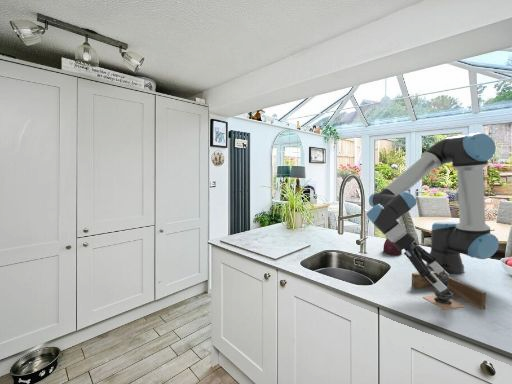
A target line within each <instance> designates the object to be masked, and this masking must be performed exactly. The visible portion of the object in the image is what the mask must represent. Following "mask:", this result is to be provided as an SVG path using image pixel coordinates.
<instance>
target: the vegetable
mask: <svg viewBox="0 0 512 384" xmlns="http://www.w3.org/2000/svg"><path fill="white" fill-rule="evenodd" d="M393 243H394V242H391V241H390V240H389V239H386V238H385V241H384V243H383V250H382V251H383V253H384V254H385V255H391V256H401V255H403V251H402V250H398V249H397V248H396V247H395V245H394V244H393Z"/></svg>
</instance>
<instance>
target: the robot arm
mask: <svg viewBox="0 0 512 384" xmlns="http://www.w3.org/2000/svg"><path fill="white" fill-rule="evenodd" d="M495 153H496V143H495V141H494V139H493V138H492V136H489V135H488V134H486V133H483V132H476V133H475V132H473V133H467V134H460V135H455V136H448V137H445V138H442V139H441V140H439V141H438V142H436V143H434V144H433V145H431V146H430V147H429V148H428V149H426V150H425V151H424V152H422V154H421V155H420V158H418V160H417V161H415V162H414V163H413V164H411V166H409V167H408V168H407V169H406V170H405V171H403V172H402V173H401V174H400V175H399V176H397V177H396V178H395V179H394V180H393V181H392V182H391V183H389V184H388V185H387V186H386V187H385V188H383V189H382V190H381V191H379V192H374V193H372V194H370V196H369V197H368V204H369V206H370V207H371V208H370V209H369V210H368V211H367V212H366V217H367V218H368V219H369V221H370V222H371V223H372V224H373V225H374V226H375V227H376V228H377V229H378V230H379V231H380V232H381V233H382V234H383V235H384V236H385V240H386V239H389V240H390V241H391V242H394V243H393V244H394V245H395V247H396V248H397V249H398V250H405V252H404V253H403V254H404V255H405V256H406V258H407V259H408V260H409V261H410V262H411V264H412V265H413V267H414V268H415V269H416V271H417V273H419V274H420V275H421V277H422V278H423V277H426V278H427V279H428V280H429V281H430V282H431V283H432V284H433V285H434V286H433V287H434V289H437V290H438V291H439V292H441V291H443V290H445V289H447V287H446V286H445V285H444V284H443V283H442V282H441V281H440V280H439V279H438V278H437V277H436V276H435V275H434V274H433V273H432V272H431V273H430V271H431V270H429V268H430V269H432V271H435V272H436V273H437V274H438V275H439V273H440V272H443V270H444V271H445V273H447V274H448V275H449V276H450V274H462V273H463V272H464V270H465V266H464V264H463V259H462V257H461V254H462V255H464V256H465V255H466V256H469V257H470V258H472V259H473V258H475V259H477V260H486V259H490V258H491V257H492V256H494V254H496V253H497V251H498V249H499V244H500V242H499V239H498V237H497V236H496V235H494V234H492V233H491V226H489V225H488V224H486V212H485V211H486V208H485V185H484V169H485V168H486V166H488V164H489V162H488V161H489V160H491V159H492V158H494V155H495ZM448 163H452V164H451V165H452V168H453V169H455V170H456V175H457V191H458V192H457V195H458V213H459V215H458V216H459V217H458V218H459V222H456V221H455V222H453V221H452V222H451V221H447V222H446V221H441V222H434V223H432V226H431V235H430V237H431V239H430V241H431V243H430V246H431V248H430V252H428V251H427V250H425V249H424V248H423V247H421V245H419V244H418V243H417V242H416V238H415V237H414V236H413V235H412V234H411V233H410V232H408V231H407V229H406V228H405V227H404V225H402V224H401V223H400V222H399V221H398V219H400V218H401V217H403V215H405V214H406V213H408V212H409V211H411V210H412V209H413V208H414V207H415V206H416V205H417V200H416V199H417V198H415V196H414V195H413V194H412V193H411V192H409V190H410V189H411V188H413V187H414V186H415V185H416V184H417V183H419V182H420V181H421V180H422V179H423V178H424V177H426V176H427V175H428V174H430V173H431V172H433V170H435V169H439V168H441V166H442V165H444V164H448ZM425 262H426V263H425Z"/></svg>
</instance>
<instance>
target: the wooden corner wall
mask: <svg viewBox="0 0 512 384" xmlns="http://www.w3.org/2000/svg"><path fill="white" fill-rule="evenodd" d="M429 271H430V273H431V272H432V273H433V274H434V275H435V276H436V277H437V278H438V279H439V275H438V274H437V273H436V272H435V271H434V270H432V271H431V270H429ZM448 282H449V283H450V284H449V286H448V289H449V291H451V292H452V293H453V295H452V296H454V297H457V298H458V299H460V300H462V301H464V302H466V303H468V304H470V305H472V306H474V307H476V308H478V309H479V310H486V301H487V300H486V298H487V292H485V291H483V290H480V289H478V288H476V287H473V286H471V285H469V284H467V283H465V282H462V281H461V280H458V279H455V278H453V277H451V276H449V279H448ZM431 287H432V288H433V287H434V285H433V284H432V283H431V282H430V281H429V280H428V279H427V278H426V277H423V278H422V277H421V275H420V274H419V272H413V273H411V288H412V289H423V288H431Z"/></svg>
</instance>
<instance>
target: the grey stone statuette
mask: <svg viewBox="0 0 512 384" xmlns="http://www.w3.org/2000/svg"><path fill="white" fill-rule="evenodd" d="M448 274H449V273H448ZM448 274H447V273H445V271H444V270H443V272H440V273H439V280H440V281H441V282H442V283H443V284H444V285H445V286H446V287H447V289H445V290H443V291H441V292H439V291H438V290H437V289H436V288H434V289H433V292H434V295H436V296H437V297H436V298H434V300H435V301H436V302H438V303H441V304H445V305H450V304H452V302H451V301H450V300H449V299H452V297H453V296H454V295H453V293H452V292H451V291H449V289H448V286H449V284H450V283H449V282H448V279H449V277H450V274H449V275H448Z"/></svg>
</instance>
